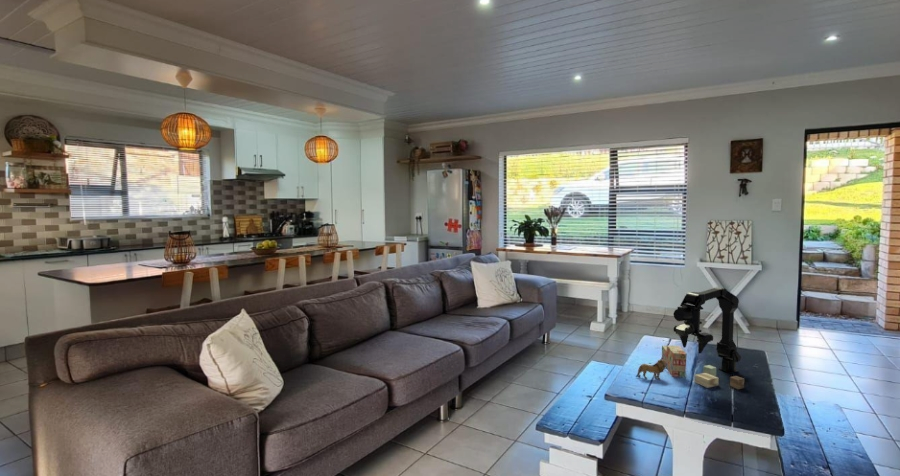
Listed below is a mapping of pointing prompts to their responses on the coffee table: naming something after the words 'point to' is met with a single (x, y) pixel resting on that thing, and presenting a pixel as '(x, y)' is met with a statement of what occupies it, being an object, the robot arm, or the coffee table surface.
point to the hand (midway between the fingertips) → (692, 350)
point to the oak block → (706, 380)
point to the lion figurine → (652, 369)
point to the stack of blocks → (674, 360)
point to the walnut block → (737, 382)
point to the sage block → (709, 370)
